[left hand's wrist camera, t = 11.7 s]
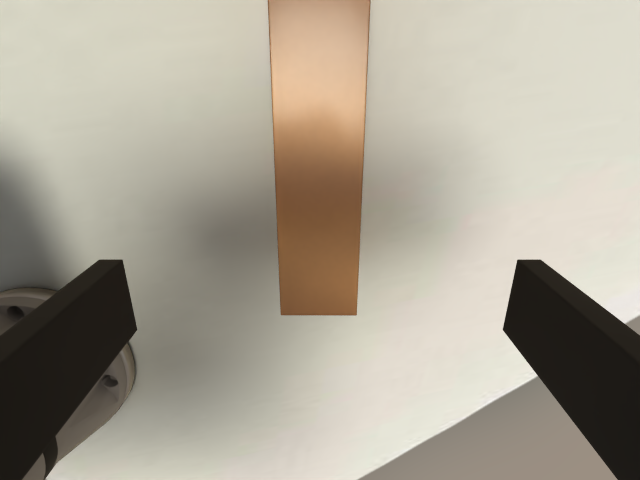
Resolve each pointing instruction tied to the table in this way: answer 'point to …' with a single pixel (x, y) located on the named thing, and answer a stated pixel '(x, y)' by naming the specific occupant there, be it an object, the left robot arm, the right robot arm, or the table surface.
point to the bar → (318, 149)
